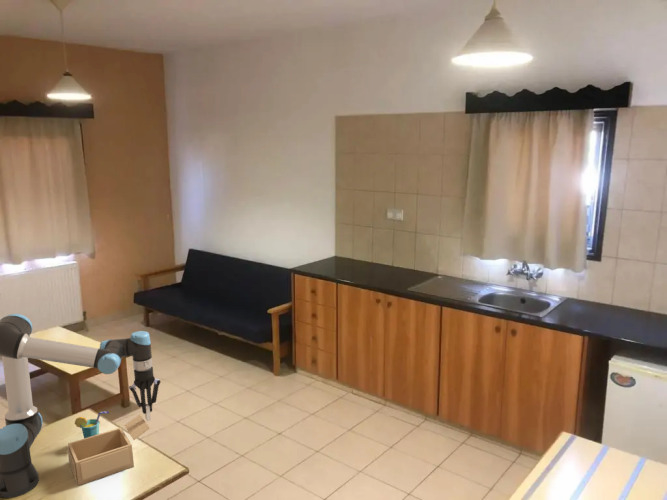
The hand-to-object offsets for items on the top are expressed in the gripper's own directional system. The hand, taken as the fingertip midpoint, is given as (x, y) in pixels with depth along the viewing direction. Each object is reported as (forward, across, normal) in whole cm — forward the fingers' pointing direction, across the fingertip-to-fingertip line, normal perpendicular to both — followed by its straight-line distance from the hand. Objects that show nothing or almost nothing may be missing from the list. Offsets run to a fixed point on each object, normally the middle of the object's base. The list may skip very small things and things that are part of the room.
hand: (148, 419), depth 230 cm
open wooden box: (+14, -20, 0) cm, 25 cm away
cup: (+15, -19, +19) cm, 31 cm away
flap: (+2, -5, 0) cm, 5 cm away
